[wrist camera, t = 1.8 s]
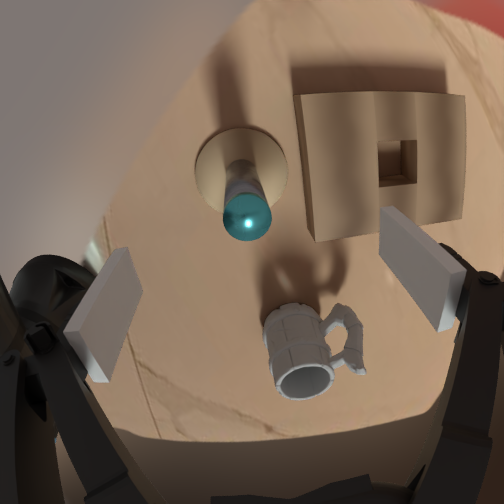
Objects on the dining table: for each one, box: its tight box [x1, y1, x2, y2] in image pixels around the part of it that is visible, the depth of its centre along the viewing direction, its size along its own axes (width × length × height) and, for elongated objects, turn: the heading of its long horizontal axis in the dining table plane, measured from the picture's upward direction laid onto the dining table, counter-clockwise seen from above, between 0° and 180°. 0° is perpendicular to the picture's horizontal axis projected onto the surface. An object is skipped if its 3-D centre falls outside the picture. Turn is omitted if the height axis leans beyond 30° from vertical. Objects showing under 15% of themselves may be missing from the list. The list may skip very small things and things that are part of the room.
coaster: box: [195, 128, 288, 214], centre depth 31 cm, size 9×9×1 cm
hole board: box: [293, 91, 466, 243], centre depth 29 cm, size 18×14×4 cm
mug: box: [262, 303, 367, 400], centre depth 34 cm, size 8×12×12 cm, turn 124°
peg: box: [223, 159, 272, 241], centre depth 25 cm, size 3×3×12 cm
